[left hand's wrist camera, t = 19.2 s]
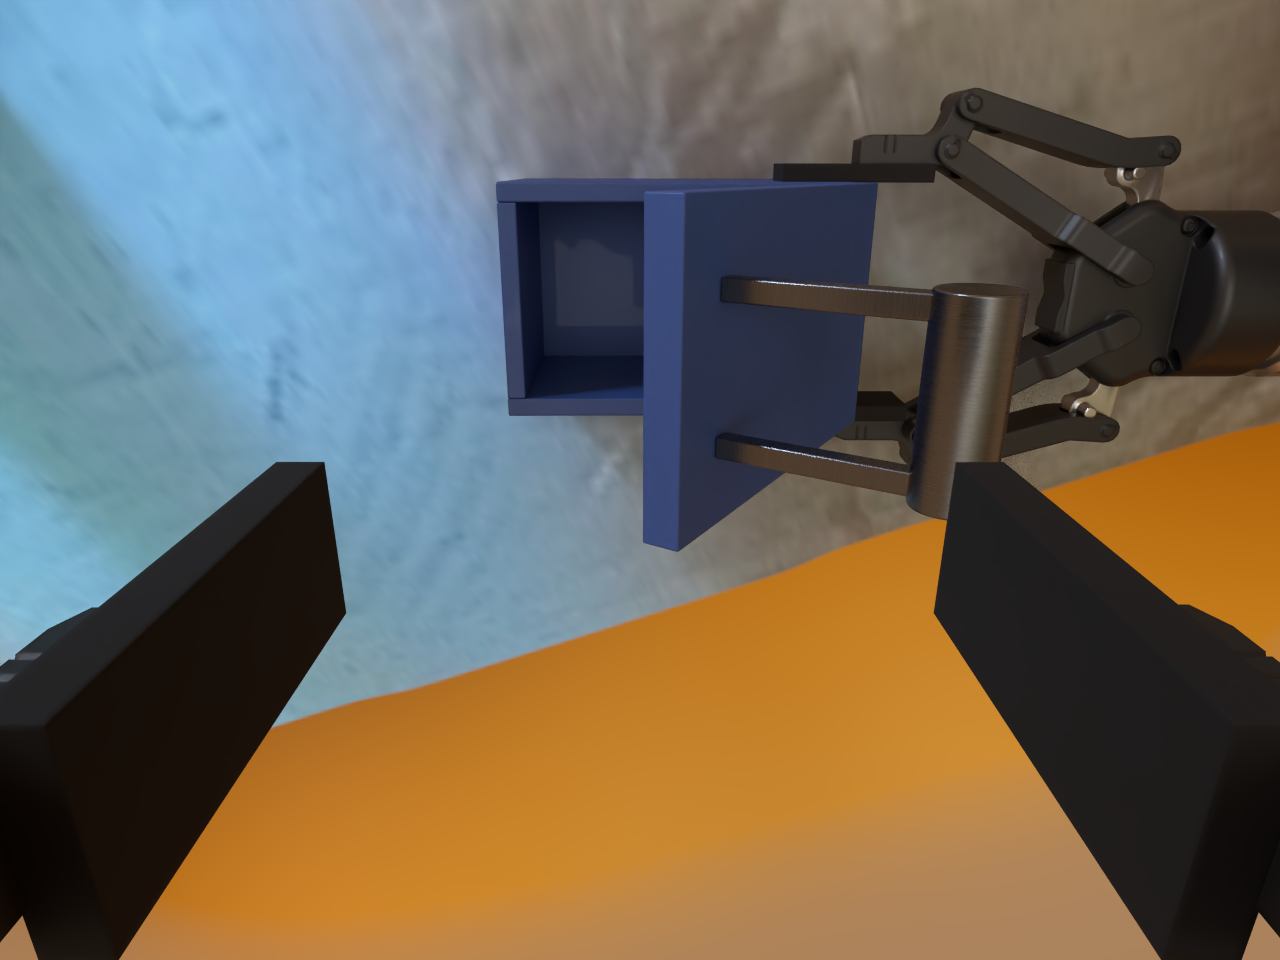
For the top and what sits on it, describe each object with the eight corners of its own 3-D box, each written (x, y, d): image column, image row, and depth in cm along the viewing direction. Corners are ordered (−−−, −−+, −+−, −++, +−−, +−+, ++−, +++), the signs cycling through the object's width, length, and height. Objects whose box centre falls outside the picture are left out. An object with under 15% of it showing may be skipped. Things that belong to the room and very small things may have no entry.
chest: (532, 366, 47) (508, 415, 37) (523, 178, 43) (495, 181, 34) (796, 366, 47) (837, 414, 38) (809, 179, 43) (858, 182, 34)
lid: (642, 543, 25) (958, 628, 20) (643, 191, 21) (1026, 198, 17) (828, 417, 37) (1049, 452, 33) (848, 182, 34) (1100, 185, 29)
